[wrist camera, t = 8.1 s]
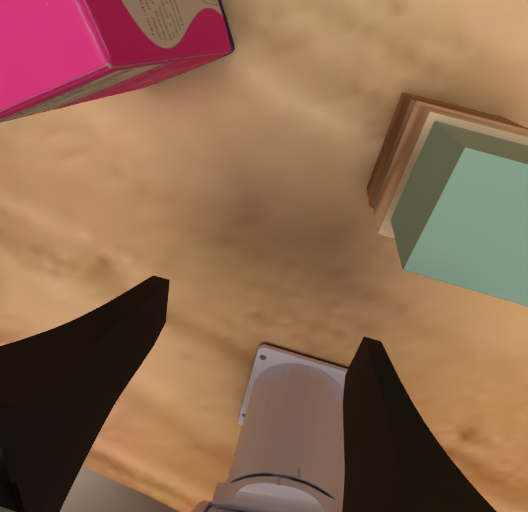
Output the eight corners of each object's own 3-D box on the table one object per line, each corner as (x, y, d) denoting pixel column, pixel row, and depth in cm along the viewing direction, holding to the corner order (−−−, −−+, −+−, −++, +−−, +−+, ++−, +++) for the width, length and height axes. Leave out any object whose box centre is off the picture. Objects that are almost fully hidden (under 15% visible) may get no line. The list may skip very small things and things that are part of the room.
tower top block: (474, 235, 18) (496, 267, 16) (373, 207, 18) (377, 234, 16) (535, 131, 16) (572, 148, 13) (416, 100, 16) (429, 111, 13)
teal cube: (486, 247, 15) (527, 306, 12) (390, 219, 15) (403, 270, 12) (546, 150, 13) (617, 188, 10) (434, 120, 13) (465, 147, 10)
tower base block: (455, 210, 21) (471, 234, 18) (366, 187, 21) (369, 206, 18) (504, 117, 18) (530, 129, 16) (402, 92, 18) (411, 99, 16)
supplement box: (86, -32, 18) (-214, -119, 8) (193, -90, 16) (-35, -287, 7) (140, 92, 21) (-46, 135, 11) (238, 53, 19) (120, 63, 9)
